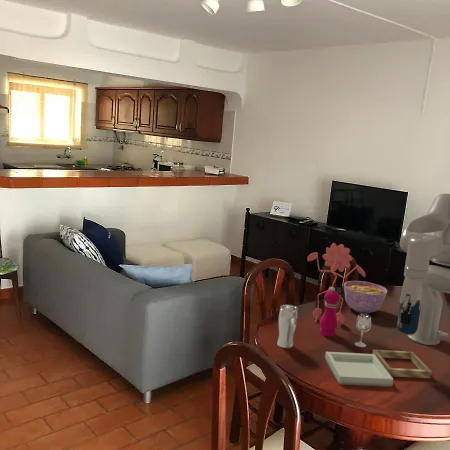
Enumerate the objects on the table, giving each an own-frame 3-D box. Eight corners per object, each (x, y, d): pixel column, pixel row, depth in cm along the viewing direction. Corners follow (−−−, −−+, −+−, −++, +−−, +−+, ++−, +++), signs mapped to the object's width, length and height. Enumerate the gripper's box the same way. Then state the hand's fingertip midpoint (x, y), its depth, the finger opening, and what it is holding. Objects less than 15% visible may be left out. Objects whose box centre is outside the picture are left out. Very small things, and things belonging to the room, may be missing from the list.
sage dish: (372, 361, 177) (374, 354, 176) (392, 386, 159) (393, 379, 159) (324, 358, 176) (325, 351, 175) (338, 384, 158) (340, 376, 157)
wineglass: (360, 348, 187) (364, 319, 184) (349, 342, 192) (353, 314, 189) (371, 346, 189) (375, 318, 187) (360, 340, 194) (364, 312, 192)
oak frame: (411, 357, 183) (412, 351, 182) (430, 378, 168) (431, 371, 167) (371, 355, 182) (372, 349, 181) (387, 376, 166) (388, 369, 166)
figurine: (356, 333, 202) (367, 251, 196) (296, 319, 212) (306, 241, 206) (361, 322, 215) (372, 245, 210) (305, 309, 226) (314, 236, 220)
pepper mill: (336, 338, 194) (342, 291, 191) (318, 335, 196) (324, 288, 192) (335, 331, 201) (342, 286, 198) (318, 329, 203) (324, 283, 199)
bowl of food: (388, 310, 233) (392, 287, 231) (377, 322, 216) (381, 297, 214) (348, 300, 243) (351, 278, 241) (334, 310, 227) (337, 287, 224)
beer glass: (295, 343, 187) (299, 306, 184) (292, 350, 180) (296, 312, 177) (278, 339, 189) (282, 303, 186) (273, 346, 182) (278, 308, 179)
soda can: (420, 332, 173) (425, 300, 170) (411, 337, 168) (416, 305, 165) (401, 325, 177) (406, 294, 175) (392, 330, 173) (397, 298, 170)
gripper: (412, 265, 177) (404, 310, 181) (396, 275, 163) (389, 324, 167) (433, 270, 173) (425, 316, 176) (419, 281, 159) (411, 331, 163)
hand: (408, 320), depth 172 cm, fingers closed on soda can, 7 cm apart
